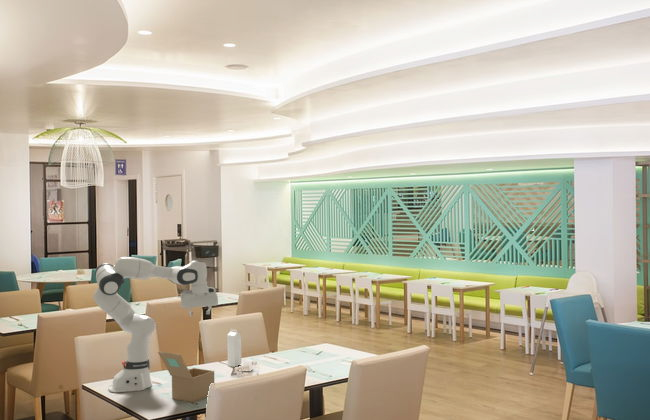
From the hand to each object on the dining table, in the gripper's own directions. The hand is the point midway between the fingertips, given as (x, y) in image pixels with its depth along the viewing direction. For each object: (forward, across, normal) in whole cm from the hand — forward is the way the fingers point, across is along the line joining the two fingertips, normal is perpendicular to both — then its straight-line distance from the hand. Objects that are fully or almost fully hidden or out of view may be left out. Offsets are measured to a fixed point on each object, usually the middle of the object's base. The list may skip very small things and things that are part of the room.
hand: (199, 314), depth 357 cm
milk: (+37, +28, +28) cm, 54 cm away
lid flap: (+18, -20, -32) cm, 42 cm away
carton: (+37, -10, -25) cm, 46 cm away
